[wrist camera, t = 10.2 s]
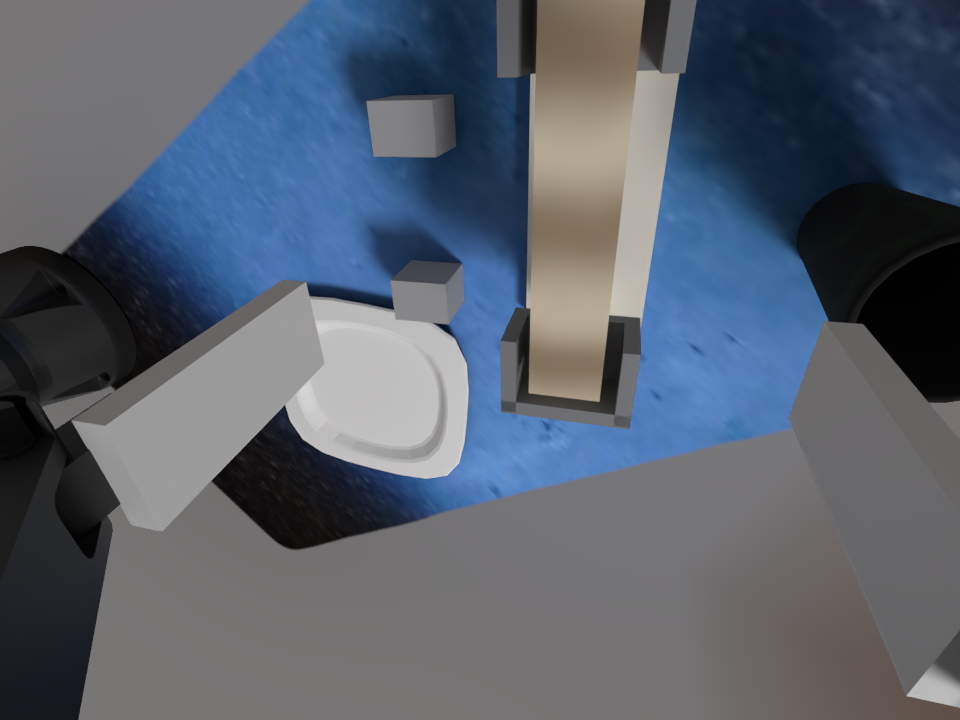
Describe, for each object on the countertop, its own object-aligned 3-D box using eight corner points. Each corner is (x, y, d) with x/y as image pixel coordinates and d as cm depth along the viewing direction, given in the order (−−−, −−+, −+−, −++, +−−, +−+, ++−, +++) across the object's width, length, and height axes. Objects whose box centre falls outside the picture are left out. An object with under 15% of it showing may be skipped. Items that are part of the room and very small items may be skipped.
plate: (273, 277, 43) (261, 285, 41) (479, 317, 39) (473, 327, 38) (298, 437, 52) (289, 448, 51) (465, 479, 49) (460, 492, 48)
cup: (748, 245, 31) (799, 335, 21) (862, 133, 27) (992, 182, 17) (842, 314, 32) (934, 433, 22) (968, 216, 28) (1152, 310, 18)
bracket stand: (528, 315, 38) (490, 410, 28) (536, -29, 27) (478, -73, 17) (639, 325, 36) (641, 430, 26) (694, -41, 25) (732, -98, 15)
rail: (603, 364, 28) (599, 401, 25) (539, 357, 29) (528, 393, 26) (645, -10, 19) (647, -20, 16) (552, -4, 20) (537, -13, 17)
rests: (415, 296, 39) (395, 319, 36) (393, 95, 32) (366, 100, 29) (464, 300, 38) (448, 324, 35) (453, 94, 31) (432, 99, 28)
